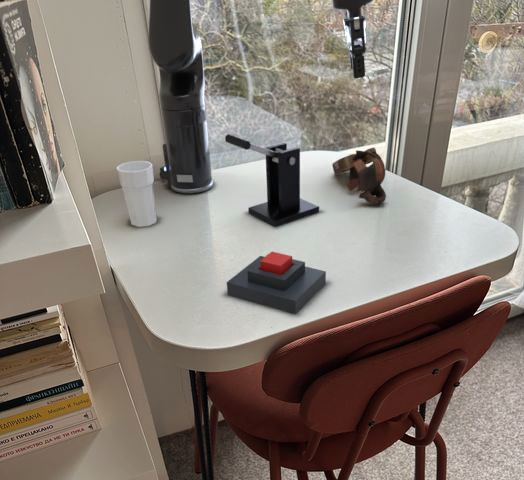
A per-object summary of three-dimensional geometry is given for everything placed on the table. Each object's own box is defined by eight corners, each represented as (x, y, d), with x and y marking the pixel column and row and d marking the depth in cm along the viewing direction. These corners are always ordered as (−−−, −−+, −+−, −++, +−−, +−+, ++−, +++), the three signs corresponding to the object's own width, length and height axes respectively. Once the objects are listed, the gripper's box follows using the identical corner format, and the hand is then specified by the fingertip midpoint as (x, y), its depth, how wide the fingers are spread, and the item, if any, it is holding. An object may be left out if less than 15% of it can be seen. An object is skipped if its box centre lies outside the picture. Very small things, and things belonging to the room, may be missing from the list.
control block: (227, 294, 86) (225, 271, 83) (260, 267, 92) (259, 245, 90) (295, 313, 80) (295, 290, 78) (325, 283, 87) (326, 260, 85)
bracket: (275, 227, 105) (273, 159, 98) (248, 213, 111) (244, 148, 104) (319, 212, 110) (320, 146, 103) (291, 199, 116) (290, 137, 109)
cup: (154, 212, 113) (145, 158, 107) (165, 223, 109) (156, 167, 102) (123, 219, 111) (112, 164, 105) (133, 231, 106) (122, 174, 100)
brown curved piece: (345, 169, 114) (384, 159, 114) (342, 153, 113) (381, 143, 113) (330, 176, 128) (365, 167, 129) (327, 163, 128) (362, 154, 128)
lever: (241, 151, 95) (246, 137, 94) (223, 144, 99) (227, 130, 98) (295, 169, 103) (300, 156, 103) (276, 161, 107) (280, 149, 107)
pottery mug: (347, 147, 106) (375, 137, 110) (322, 173, 114) (349, 162, 118) (378, 202, 106) (405, 189, 110) (350, 223, 114) (376, 211, 118)
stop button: (260, 271, 84) (259, 260, 83) (272, 261, 86) (271, 251, 85) (280, 276, 82) (280, 265, 81) (292, 266, 85) (292, 255, 84)
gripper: (329, -23, 106) (337, 69, 115) (332, -18, 95) (340, 84, 104) (369, -31, 105) (373, 63, 114) (376, -27, 93) (380, 77, 103)
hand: (357, 73), depth 109 cm, fingers open, 8 cm apart
